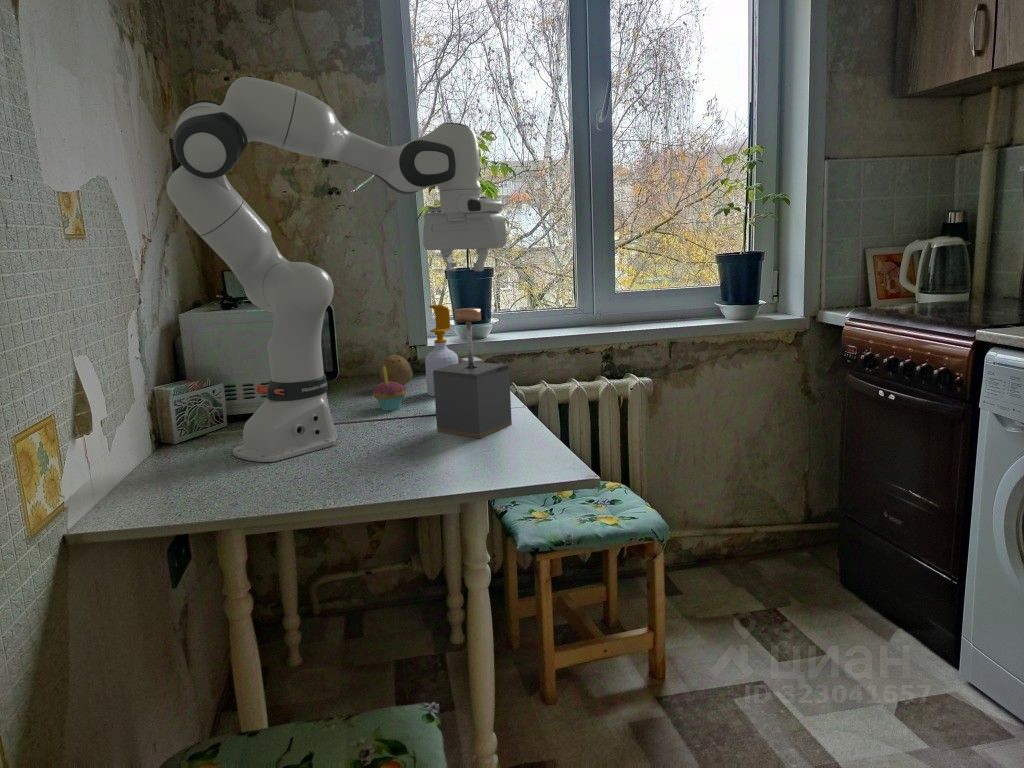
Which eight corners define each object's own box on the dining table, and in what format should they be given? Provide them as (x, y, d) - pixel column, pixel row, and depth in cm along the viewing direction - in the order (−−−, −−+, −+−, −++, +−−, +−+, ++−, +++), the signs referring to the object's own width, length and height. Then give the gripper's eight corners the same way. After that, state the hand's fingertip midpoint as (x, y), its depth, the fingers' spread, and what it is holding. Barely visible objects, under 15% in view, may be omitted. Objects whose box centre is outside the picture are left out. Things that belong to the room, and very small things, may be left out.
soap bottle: (422, 396, 192) (415, 306, 187) (435, 389, 200) (429, 302, 195) (453, 397, 189) (447, 306, 184) (465, 390, 198) (459, 302, 192)
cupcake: (401, 413, 176) (397, 365, 173) (368, 413, 177) (364, 366, 175) (411, 404, 184) (407, 359, 182) (380, 404, 186) (376, 359, 183)
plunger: (475, 383, 150) (471, 312, 147) (441, 379, 156) (436, 311, 152) (501, 374, 158) (498, 307, 155) (468, 371, 163) (464, 306, 160)
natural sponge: (374, 390, 203) (370, 356, 201) (396, 384, 210) (393, 351, 207) (396, 393, 197) (393, 358, 195) (418, 387, 204) (415, 353, 202)
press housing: (480, 438, 151) (476, 374, 148) (437, 431, 158) (432, 370, 155) (511, 424, 161) (508, 364, 158) (470, 418, 168) (466, 360, 164)
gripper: (414, 207, 152) (419, 272, 155) (491, 202, 141) (494, 272, 144) (433, 207, 157) (437, 270, 160) (509, 202, 146) (512, 269, 149)
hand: (465, 271), depth 152 cm, fingers open, 6 cm apart
